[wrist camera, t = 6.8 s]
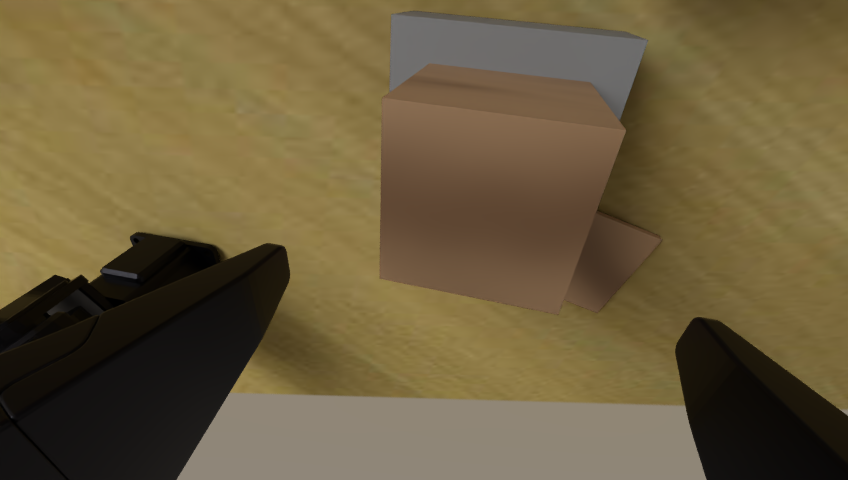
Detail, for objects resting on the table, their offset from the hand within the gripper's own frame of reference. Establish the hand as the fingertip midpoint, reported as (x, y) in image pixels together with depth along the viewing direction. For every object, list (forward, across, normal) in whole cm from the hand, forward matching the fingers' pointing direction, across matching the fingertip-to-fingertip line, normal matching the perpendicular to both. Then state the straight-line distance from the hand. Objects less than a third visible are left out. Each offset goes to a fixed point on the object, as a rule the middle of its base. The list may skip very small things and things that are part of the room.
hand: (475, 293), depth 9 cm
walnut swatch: (+13, -6, +7) cm, 16 cm away
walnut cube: (+9, 0, 0) cm, 9 cm away
